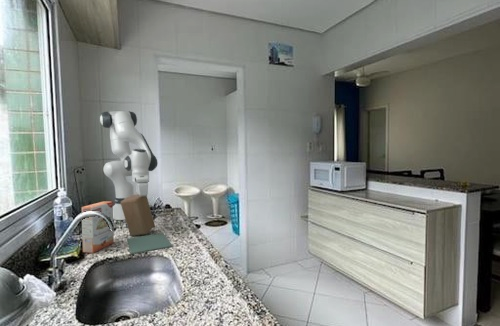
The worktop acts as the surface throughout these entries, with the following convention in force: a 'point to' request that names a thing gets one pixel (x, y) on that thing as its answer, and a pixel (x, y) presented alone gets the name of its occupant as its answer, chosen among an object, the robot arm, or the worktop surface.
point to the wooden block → (137, 214)
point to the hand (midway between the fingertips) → (141, 202)
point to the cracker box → (97, 228)
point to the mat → (148, 243)
